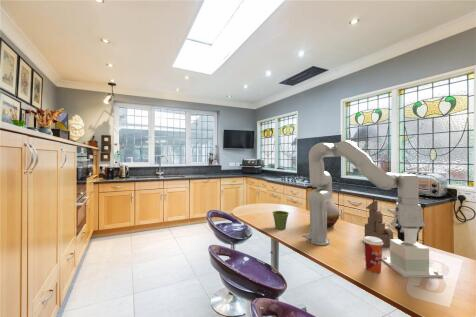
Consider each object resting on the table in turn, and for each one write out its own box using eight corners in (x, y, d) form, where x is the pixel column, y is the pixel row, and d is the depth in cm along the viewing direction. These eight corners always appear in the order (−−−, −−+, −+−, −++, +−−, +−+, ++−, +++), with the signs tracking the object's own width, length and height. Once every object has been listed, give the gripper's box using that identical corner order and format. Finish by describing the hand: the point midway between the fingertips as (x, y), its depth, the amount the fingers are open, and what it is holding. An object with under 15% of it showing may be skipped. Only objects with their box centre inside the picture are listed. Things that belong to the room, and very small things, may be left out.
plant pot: (285, 232, 146) (285, 215, 145) (269, 229, 152) (269, 213, 152) (291, 227, 156) (291, 211, 155) (276, 224, 162) (275, 209, 162)
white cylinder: (395, 238, 101) (394, 224, 101) (408, 238, 101) (408, 223, 101) (407, 244, 94) (407, 229, 94) (422, 244, 95) (422, 228, 95)
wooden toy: (394, 245, 121) (393, 202, 121) (385, 247, 119) (384, 203, 119) (370, 236, 136) (370, 197, 136) (362, 237, 134) (361, 198, 134)
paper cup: (376, 275, 91) (375, 243, 91) (359, 267, 98) (359, 237, 98) (387, 271, 94) (387, 240, 94) (370, 263, 101) (370, 234, 101)
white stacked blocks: (403, 277, 90) (403, 251, 90) (380, 258, 106) (379, 237, 106) (442, 277, 89) (442, 251, 89) (413, 259, 105) (412, 237, 105)
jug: (307, 225, 160) (306, 185, 159) (318, 220, 172) (318, 183, 171) (333, 231, 145) (332, 187, 145) (343, 225, 157) (343, 185, 157)
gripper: (394, 202, 94) (394, 243, 94) (434, 202, 93) (434, 243, 94) (383, 199, 102) (383, 236, 102) (420, 199, 101) (420, 237, 101)
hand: (407, 239), depth 98 cm, fingers closed on white cylinder, 5 cm apart
